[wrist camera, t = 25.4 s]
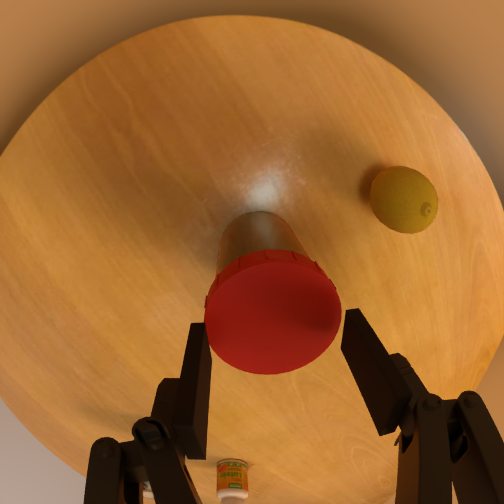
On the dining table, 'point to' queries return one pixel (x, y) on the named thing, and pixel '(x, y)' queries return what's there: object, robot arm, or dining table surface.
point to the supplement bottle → (232, 481)
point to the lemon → (403, 199)
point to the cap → (271, 312)
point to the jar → (256, 237)
